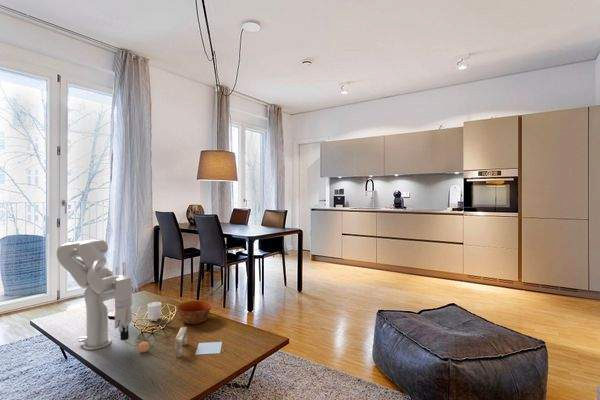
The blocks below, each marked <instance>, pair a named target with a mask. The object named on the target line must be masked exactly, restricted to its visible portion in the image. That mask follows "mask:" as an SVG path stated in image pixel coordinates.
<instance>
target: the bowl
mask: <svg viewBox="0 0 600 400" xmlns="http://www.w3.org/2000/svg"><path fill="white" fill-rule="evenodd" d="M212 307H213V304H212V302H211V301H207V300H189V301H183V302H181V303H179V304H178V305H176V309H177V312H178V313H179V317H180V321H181V322H183V323H185V324H191V325H192V324H193V325H196V324H201V323H203V322H205V321H206V320H208V318H209V313H210V312H211V309H212Z"/></svg>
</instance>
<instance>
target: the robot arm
mask: <svg viewBox="0 0 600 400" xmlns="http://www.w3.org/2000/svg"><path fill="white" fill-rule="evenodd" d="M108 249H109V246H108V243H107V242H106V241H105V240H104V239H87V240H80V241H73V242H72V241H71V242H67V243H64V244H61V245H59V246H58V247H57V249H56V258H57V260H58V262H59V264H60V265H61V266H62V267H63V268H64V269H65V270H66V271H67V272H68V273H69V274H70V275H71V277H72V278H73V280H74V281H75V282H76V283H77V285H78V286H79V287H80V288H81V289H85V290H84V291H83V297H84V303H85V310H86V311H85V312H86V316H85V317H86V335H85V336H79V337H78V342H79V343H83V344H82V348H83V349H84V350H86V351H92V350H93V351H94V350H99V349H103V348H105V347H107V346H109V345H111V344H112V338H111V337H109V311H108V310H109V308H108V307H107V305H106V304H105V303H104V302H105V301H108V300H112V299H114V307H115V311H114V328H115V329H117V328H118V332H120V341H127V340H128V339H129V334H130V333H129V332H130V331H129V330H130V329H129V327H130V326H129V325H130V324H131V323H132V320H133V311H132V310H133V309H132V305H133V288H132V287H133V283H132V282H133V281H132V277H130V276H124V275H122V274H113V273H112V271H111V270H110V269H109V268H107V267H105V265H106V264H107V257H105V256H104V255H105V254H106V253H107V252H108ZM79 257H80V258H81V259H79Z"/></svg>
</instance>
